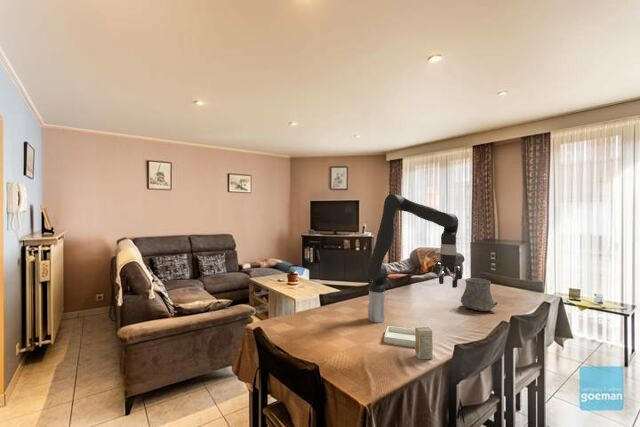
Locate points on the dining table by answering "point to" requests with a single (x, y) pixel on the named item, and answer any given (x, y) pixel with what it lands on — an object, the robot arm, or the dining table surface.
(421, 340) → the skincare box
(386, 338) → the tray
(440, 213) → the robot arm
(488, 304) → the vessel
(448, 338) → the dining table surface
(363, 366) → the dining table surface
